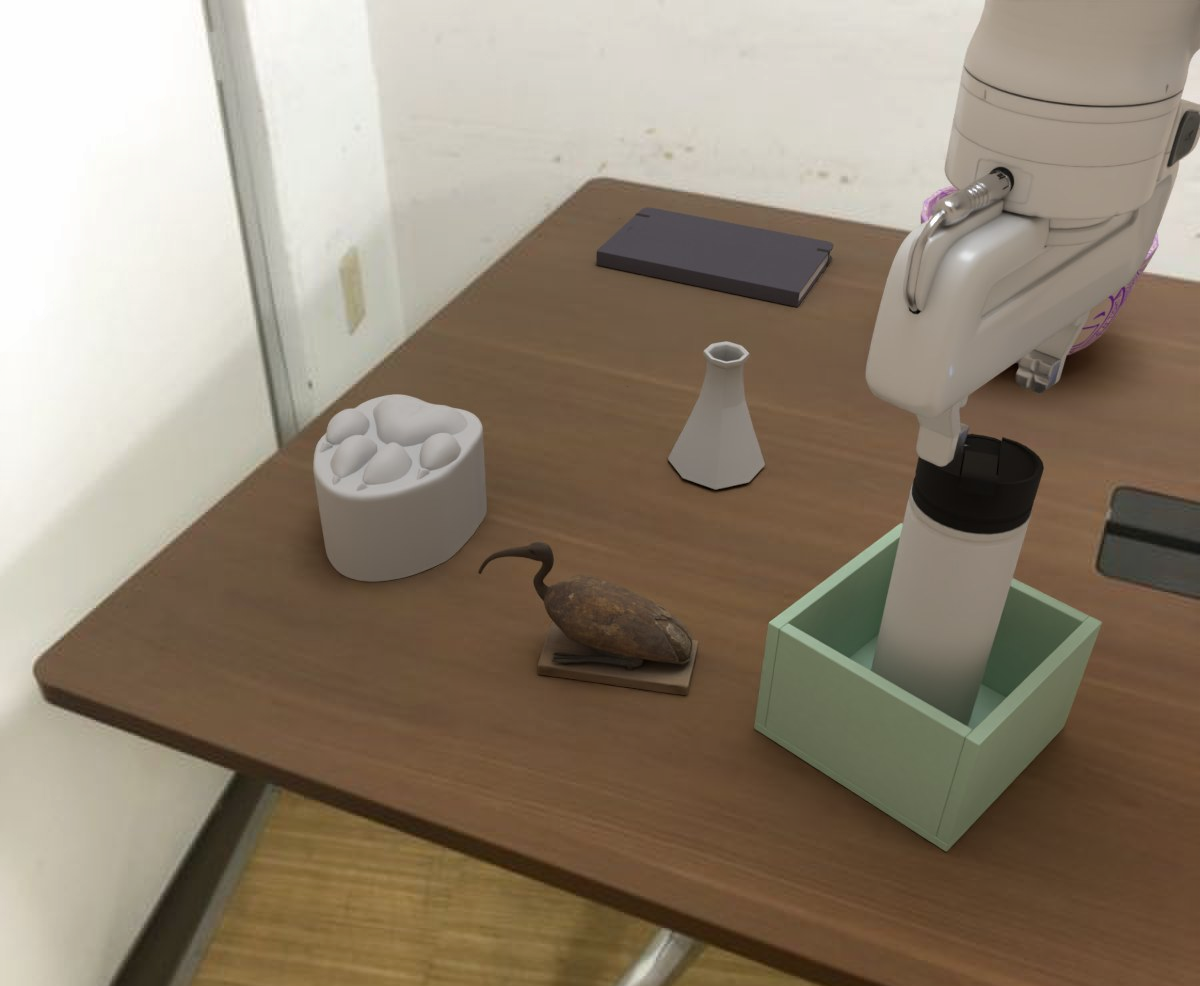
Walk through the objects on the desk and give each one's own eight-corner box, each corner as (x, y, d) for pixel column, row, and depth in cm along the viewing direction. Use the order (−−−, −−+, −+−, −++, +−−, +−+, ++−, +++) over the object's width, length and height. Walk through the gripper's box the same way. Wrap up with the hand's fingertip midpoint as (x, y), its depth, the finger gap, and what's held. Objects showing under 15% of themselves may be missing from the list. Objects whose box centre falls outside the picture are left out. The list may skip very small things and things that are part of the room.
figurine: (473, 665, 80) (466, 559, 74) (490, 621, 83) (485, 516, 78) (689, 696, 78) (698, 589, 73) (697, 649, 82) (707, 543, 76)
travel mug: (853, 751, 74) (914, 470, 61) (868, 679, 79) (928, 404, 66) (960, 776, 73) (1045, 494, 60) (969, 701, 77) (1050, 425, 65)
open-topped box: (1064, 727, 77) (1102, 621, 71) (946, 852, 69) (979, 745, 63) (878, 625, 84) (900, 522, 78) (753, 728, 76) (768, 622, 71)
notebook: (595, 265, 126) (797, 307, 120) (596, 250, 125) (799, 292, 119) (643, 219, 135) (834, 256, 129) (644, 205, 134) (836, 242, 128)
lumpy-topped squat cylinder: (503, 499, 94) (499, 399, 89) (417, 598, 85) (407, 494, 79) (385, 466, 97) (374, 368, 92) (289, 559, 88) (270, 456, 83)
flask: (651, 460, 99) (657, 347, 92) (716, 430, 102) (727, 319, 96) (715, 502, 94) (725, 386, 88) (780, 469, 98) (795, 355, 92)
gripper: (996, 235, 46) (930, 535, 55) (1224, 103, 57) (1139, 369, 66) (854, 189, 49) (814, 478, 58) (1096, 73, 61) (1031, 330, 70)
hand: (988, 419), depth 62 cm, fingers open, 8 cm apart
